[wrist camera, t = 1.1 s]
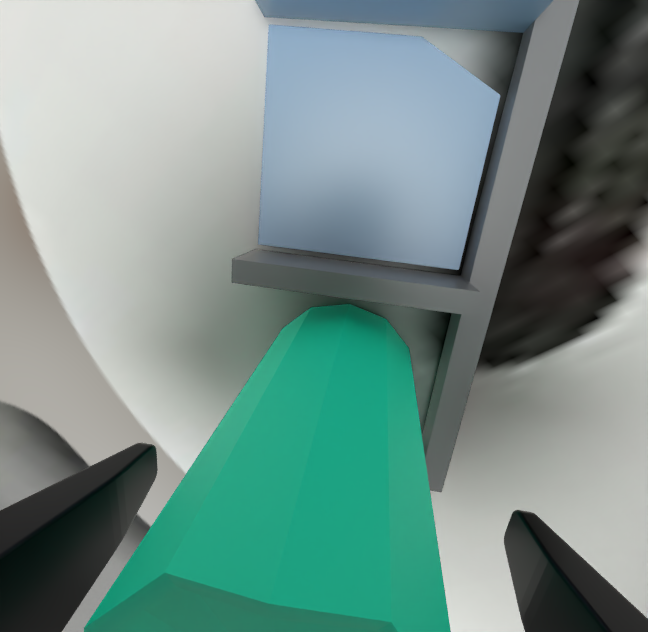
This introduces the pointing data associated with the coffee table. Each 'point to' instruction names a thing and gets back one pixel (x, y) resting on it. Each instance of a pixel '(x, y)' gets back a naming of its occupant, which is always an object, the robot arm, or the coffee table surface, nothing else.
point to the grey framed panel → (401, 167)
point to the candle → (299, 501)
